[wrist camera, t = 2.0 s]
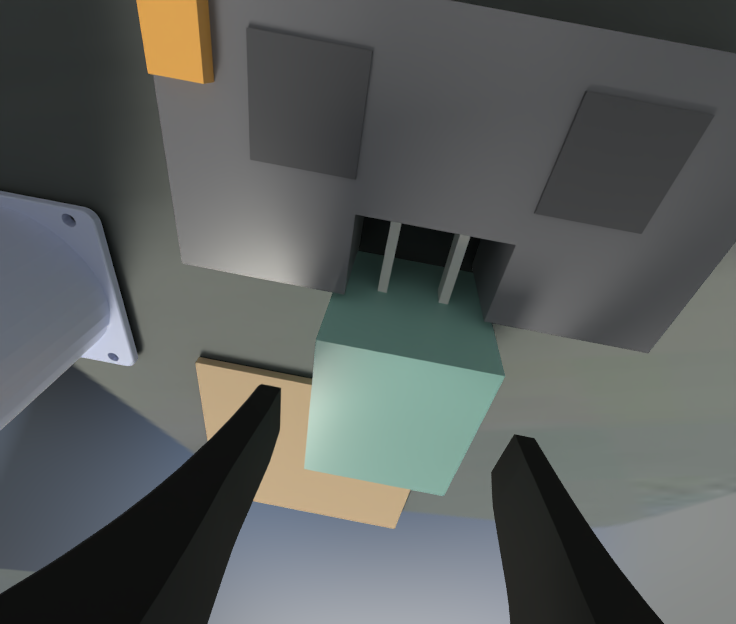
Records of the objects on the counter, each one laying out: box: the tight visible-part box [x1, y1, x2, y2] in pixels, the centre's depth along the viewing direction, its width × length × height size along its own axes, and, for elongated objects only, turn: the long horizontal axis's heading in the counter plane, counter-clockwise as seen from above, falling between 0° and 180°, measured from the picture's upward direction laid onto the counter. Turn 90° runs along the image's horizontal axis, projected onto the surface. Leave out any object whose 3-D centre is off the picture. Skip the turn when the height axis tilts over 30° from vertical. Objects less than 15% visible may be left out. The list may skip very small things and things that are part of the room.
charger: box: [304, 221, 505, 496], centre depth 13 cm, size 5×8×6 cm, turn 171°
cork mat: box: [195, 357, 410, 529], centre depth 22 cm, size 12×12×1 cm
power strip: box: [136, 0, 736, 353], centre depth 10 cm, size 14×7×4 cm, turn 81°
